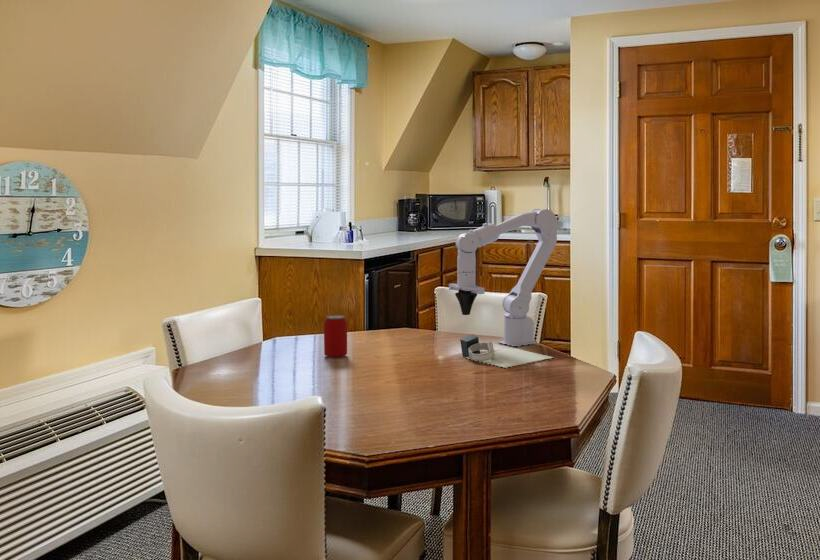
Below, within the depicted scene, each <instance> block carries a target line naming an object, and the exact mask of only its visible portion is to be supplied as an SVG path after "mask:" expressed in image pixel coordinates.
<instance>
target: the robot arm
mask: <svg viewBox="0 0 820 560" xmlns="http://www.w3.org/2000/svg"><path fill="white" fill-rule="evenodd" d="M558 223H559V221H558V219H557V217H556V215H555V213H554V212H553V211H552V210H551V209H548V208H547V209H540V208H534V209H532V210H529V211H525V212H522V213H520V214H518V215H515V216H513V217H511V218H508V219H506V220H504V221H502V222H500V223H497V224H493V223H491V222H490V223H488V222H485V223H482V226H480V227H478V228H475V229H469V230H468V233H465V232H464V233H461V234H459V235H458V237H457V238H456V240H455V246H456V248H457V257H456V259H457V260H456V261H457V262H456V263H457V265H456V266H457V267H456V269H457V270H456V272H457V274H456V275H457V279H456V282H457V283H448V290H449V291H458V292H455V293H454V295H455V297H456V299H457V301H458V302H459V306H460V311H461V314H462V315H463V316H468V315H469V316H470V315H471V311H472V307H473V304H474V302H475V300H476V298H477V296H478V295H485V288H486V287H483V286H479V285H476V279H477V278H476V276H477V275H476V268H477V267H476V265H477V262H476V261H477V260H476V258H477V257H476V251H477V249H478V248H481V247H484V246H486V245H489V244H491V243H494V242H496V241H497V240H498V239H499V237H500V235H502V234H505V233H507V232H511V231H513V230H516V229H518V228H522V227H523V226H524V227H530V228H531V229H532V230H533V231H534V232H535V234H536V237H537V240H538V241H537V244H536V246H535V248H534V250H533V252H532V253H531V256H530V258H529V260H528V262H527V263H526V266H525V267H524V269H523V272H522V273H521V276H520V277H519V279H518V282H517V283H516V285H514V286H513V287H512V288H511V290H510V291H509V293H508V294H507V295H506V296H505V297H504V298H503V299H502V304H501V305H502V309H503V310H504V311H505V313H504V314H503V340H500V341H499V342H500V343H504V344H508V345H507V346H509V345H512V346H511V347H513V346H518V347H522V346H521V345H524V346H528V344H529V345H534V344H536V341H534V336H535V334H534V333H535V332H534V331H535V326H534V325H535V323H534V320H533V318H532V317H531V316H529V315H527V314H528V313H529V310H530V303H531V300H532V292H533V290H534V287H535V285H536V284H537V282H538V279H539V278H540V276H541V275H542V272H543V270H544V267H545V266H546V264H547V262H548V260H549V258H550V256H552V255H551V254H552V253H553V251H554V248H555V247H556V244H557V242H558V239H557V238H558V237H557V236H558V233H557V231H558V229H557V226H558ZM504 344H503V345H504Z"/></svg>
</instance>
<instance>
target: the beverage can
mask: <svg viewBox="0 0 820 560" xmlns="http://www.w3.org/2000/svg"><path fill="white" fill-rule="evenodd" d="M324 319H325V320H324V321H323V341H324V342H323V345H324V346H323V347H324V349H323V350H324V352H323V353H324V356H325V357H327V358H330V359H342V358H344V357H345V356H347V355H348V322H347V319H346V318H345V315H341V314H329V315H326V317H325V318H324Z"/></svg>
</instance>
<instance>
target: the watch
mask: <svg viewBox="0 0 820 560" xmlns="http://www.w3.org/2000/svg"><path fill="white" fill-rule="evenodd" d="M459 339H460V340H459V341H460V347H461V354H462V355H463V356H462V357H464V356H466V357H468V356H469V357H470V359H471V360H470V361H473V360H474V362H477V361H486V360H489V359H490V360H491V359H494V352H495V349H494V345H493V341H491V340H488V341H487V342H485V341H483V342H480V341H479V337H478V336H477V335H475V334H469V335H466V336H464V337H461V338H459ZM481 351H486V352H484V353H481ZM466 357H465V358H466Z"/></svg>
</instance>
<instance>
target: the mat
mask: <svg viewBox="0 0 820 560" xmlns="http://www.w3.org/2000/svg"><path fill="white" fill-rule="evenodd" d="M465 358H467V359H466V360H469V359H470V357H469V356H468V357H465ZM551 358H554V357H553V356H549V355H545V354H541V353H537V352H531V351H527V350H523V349H518V348H508V349H502V350H497V351H494V359H491V360H490V359H489V360H486V361H479V362H478V363H481V362H483V363H482V364H485V363H487V364H486V365H489V364H491V365H490V366H493V365H495V366H494V367H496V366H498V367H497V368H500V367H503V368H502V369H504V368H506V369H509V368H508V367H511V368H513V367H512V366H516V365H521V364H526V363H530V362H535V361H540V360H544V359H550V360H552V359H551ZM540 362H541V361H540ZM535 363H536V362H535ZM526 365H527V364H526ZM521 366H522V365H521ZM516 367H517V366H516Z"/></svg>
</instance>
